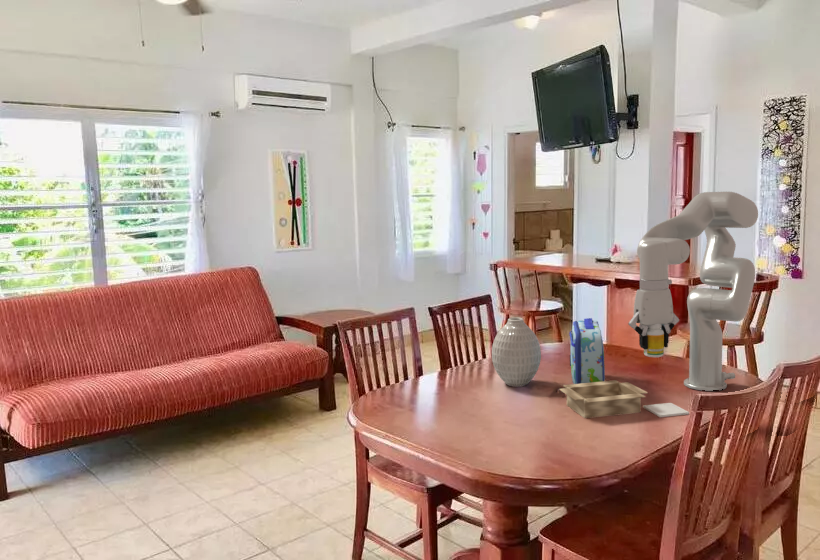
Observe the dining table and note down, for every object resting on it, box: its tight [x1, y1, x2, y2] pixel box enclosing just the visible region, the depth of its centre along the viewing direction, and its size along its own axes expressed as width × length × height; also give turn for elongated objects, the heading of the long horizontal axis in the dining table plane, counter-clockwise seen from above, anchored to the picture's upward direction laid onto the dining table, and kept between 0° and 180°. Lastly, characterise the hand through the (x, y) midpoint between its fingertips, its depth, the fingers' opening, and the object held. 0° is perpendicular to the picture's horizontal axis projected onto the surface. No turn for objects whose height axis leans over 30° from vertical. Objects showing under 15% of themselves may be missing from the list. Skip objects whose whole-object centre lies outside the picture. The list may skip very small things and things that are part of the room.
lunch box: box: [569, 317, 606, 384], centre depth 222 cm, size 26×11×21 cm, turn 168°
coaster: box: [642, 402, 690, 418], centre depth 194 cm, size 9×9×1 cm
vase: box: [491, 317, 542, 388], centre depth 224 cm, size 16×16×22 cm
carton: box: [559, 379, 648, 419], centre depth 197 cm, size 22×17×6 cm
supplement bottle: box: [643, 324, 665, 358], centre depth 192 cm, size 5×5×10 cm
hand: (653, 346), depth 192 cm, fingers closed on supplement bottle, 5 cm apart
